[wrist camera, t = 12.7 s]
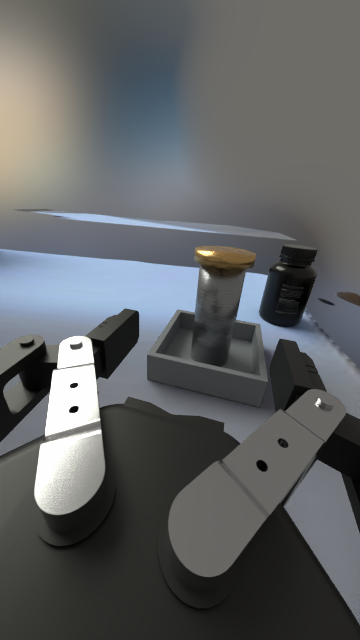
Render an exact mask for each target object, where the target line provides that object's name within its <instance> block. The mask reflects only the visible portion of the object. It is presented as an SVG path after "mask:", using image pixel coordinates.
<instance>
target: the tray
mask: <svg viewBox="0 0 360 640" xmlns="http://www.w3.org/2000/svg"><path fill="white" fill-rule="evenodd" d="M194 317H195V313H194V312H188V311H183V310H177V311H176V313H175V314H174V316H173V317H172V319H171V320H170V322H169V323H168V325H167V326H166V328H165V329H164V331H163V332H162V334H161V335H160V337H159V338H158V340H157V341H156V343H155V344H154V346H153V347H152V349H151V350H150V351H149V353H148V354H147V379H148V380H152V381H156V382H160V383H164V384H168V385H172V386H176V387H180V388H184V389H188V390H192V391H196V392H200V393H204V394H209V395H213V396H217V397H221V398H225V399H229V400H233V401H237V402H241V403H245V404H249V405H253V406H257V407H260V405H261V402H262V399H263V396H264V393H265V390H266V387H267V384H268V377H267V370H266V363H265V356H264V348H263V341H262V334H261V327H260V324H255V323H250V322H244V321H239V320H236V322H235V327H234V331H233V336H232V341H231V346H230V351H229V356H228V361H227V362H226V364H224V365H223V366H220V367H218V366H213V365H209V364H204V363H200V362H195V361H194V360H193V359H192V357H191V345H192V336H193V326H194Z"/></svg>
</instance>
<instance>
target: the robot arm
mask: <svg viewBox="0 0 360 640" xmlns="http://www.w3.org/2000/svg"><path fill="white" fill-rule="evenodd" d="M138 338H139V312H138V311H135V310H130V309H124V310H123V311H122V312H121V313H119V314H118V315H114V316H112V317H109V318H107V319H106V320H105V321H103V323H101V324H100V325H98V326H97V327H96V328H95V329H93V330H92V331H91V332H90V333H88V334H87V335H86V336H85V337H84V336H75V337H71V338H68V339H66V340H64V341H63V342H62V343H61V344H60V345H45V341H44V338H43V337H42V336H39V335H28V336H23V337H20V338H17V339H15V340H14V341H12V342H10V343H9V344H7V345H6V346H4V347H2V348H1V349H0V442H1V441H2V440H3V439H4V438H5V437H6V436H7V435H8V434H9V433H10V432H11V431H12V430H13V429H14V428H15V427H16V426H17V425H18V424H19V423H20V421H21V420H22V419H23V418H24V417H25V416H26V415H27V414H28V413H29V412H30V411H31V410H32V409H33V408H34V407H35V406H36V405H37V404H38V403H39V402H40V401H41V400H42V399H43V398H44V397H45V396H46V395H47V394H48V393H49V392H50V391H51V392H50V400H49V408H48V416H47V425H46V433H45V435H43V436H41V437H39V438H36V439H34V440H32V441H30V442H28V443H26V444H24V445H22V446H20V447H18V448H16V449H14V450H12V451H10V452H8V453H6V454H3V455H1V456H0V640H360V625H359V623H358V622H357V620H356V618H355V616H354V615H353V613H352V611H351V610H350V608H349V607H348V605H347V604H346V602H345V601H344V599H343V597H342V596H341V594H340V593H339V591H338V590H337V588H336V587H335V585H334V584H333V582H332V581H331V579H330V577H329V576H328V574H327V573H326V571H325V570H324V568H323V567H322V565H321V564H320V562H319V560H318V559H317V557H316V556H315V554H314V553H313V551H312V550H311V548H310V547H309V545H308V544H307V542H306V540H305V539H304V537H303V536H302V534H301V533H300V531H299V530H298V528H297V527H296V525H295V524H294V522H293V520H292V519H291V517H290V516H289V514H288V513H287V511H286V510H285V508H284V507H285V505H286V504H287V502H288V501H289V499H290V498H291V496H292V495H293V493H294V492H295V490H296V489H297V487H298V486H299V485H300V483H301V482H302V480H303V479H304V478H305V476H306V475H307V473H308V472H309V471H310V469H311V468H312V466H313V465H314V464H315V462H316V461H317V459H318V460H319V461H321V462H323V463H325V464H327V465H328V466H330V467H332V468H334V469H336V470H337V471H339V472H341V474H342V477H343V481H344V484H345V487H346V490H347V494H348V497H349V500H350V503H351V506H352V510H353V513H354V516H355V519H356V523H357V526H358V529H359V532H360V419H358V418H356V417H354V416H352V415H350V414H348V413H346V409H345V406H344V405H343V404H342V402H341V401H340V400H338V399H337V398H336V397H335V396H333V395H331V394H330V393H328V392H327V391H326V389H325V387H324V384H323V382H322V380H321V378H320V376H319V374H318V371H317V369H316V368H315V365H314V362H313V360H312V359H311V358H310V357H309V356H308V355H307V354H306V353H303V352H300V350H299V348H298V345H297V343H296V342H295V341H290V340H285V339H280V340H279V341H278V344H277V347H276V350H275V353H274V356H273V359H272V361H271V365H270V378H271V384H272V390H273V397H274V403H275V409H276V413H275V414H274V415H272V416H271V417H270V418H269V419H268V420H267V421H266V422H265V423H263V424H262V425H261V426H260V427H259V428H258V429H257V430H256V431H254V432H253V433H252V434H251V435H250V436H249V437H248V438H247V439H245V440H244V441H243V442H242V443H241V444H240V443H239V442H238V441H237V440H236V439H234V438H233V437H232V436H230V435H229V434H227V433H225V432H224V423H223V422H219V421H215V420H212V419H208V418H204V417H201V416H187V415H173V414H170V413H168V412H166V411H164V410H163V409H161V408H159V407H157V406H155V405H153V404H152V403H149V402H146V401H142V400H138V399H135V398H131V397H128V398H127V400H126V401H125V403H124V404H114V405H108V406H104V407H102V408H100V406H99V398H98V389H97V381H96V380H97V379H98V378H99V377H102V378H106V379H108V378H109V377H110V375H111V374H112V373H113V372H114V370H115V369H116V368H117V367H118V366H119V364H120V363H121V362H122V361H123V359H124V358H125V357H126V356H127V354H128V353H129V352H130V351H131V349H132V348H133V347H134V346H135V344H136V343H137V341H138ZM18 373H19V376H20V379H21V381H20V382H19V383H18V384H16V385H15V386H14V387H13V388H12V389H10V390H9V391H8V392H7V393H6V394H3V389H4V386H5V385H6V383H7V382H8V381H10V380H11V379H12V378H13V377H15V376H16V375H17V374H18Z"/></svg>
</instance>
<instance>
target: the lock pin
mask: <svg viewBox="0 0 360 640" xmlns="http://www.w3.org/2000/svg"><path fill="white" fill-rule="evenodd" d="M255 257H256V254H255V253H254V252H251V251H248V250H244V249H239V248H233V247H224V246H200V247H196V249H195V259H194V260H195V261H196V262H198V263H200V270H199V280H198V289H197V298H196V308H195V317H194V326H193V336H192V345H191V357H192V359H193V360H194V361H195V362H200V363H204V364H209V365H213V366H218V367H220V366H223V365H224V364H226V362H227V361H228V356H229V351H230V346H231V341H232V336H233V331H234V327H235V322H236V317H237V312H238V307H239V302H240V297H241V292H242V287H243V282H244V278H245V273H246V269H248V268H252V267H253V266H254V262H255Z"/></svg>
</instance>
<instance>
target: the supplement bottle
mask: <svg viewBox="0 0 360 640" xmlns="http://www.w3.org/2000/svg"><path fill="white" fill-rule="evenodd" d="M316 253H317V249H316V248H312V247H307V246H300V245H283V247H282V250H281V253H280V256H279V257H280V258H281V259H280V261H278V262H276V263H274V264H273V265H272V266H271V267H270V270H269V274H268V278H267V282H266V286H265V289H264V293H263V297H262V301H261V305H260V310H259V314H260V316H261V317H262V318H263V319H264V320H266V321H268V322H270V323H273V324H276V325H280V326H295V325H297V324H299V323H300V321H301V319H302V316H303V313H304V310H305V308H306V305H307V302H308V299H309V296H310V293H311V290H312V288H313V285H314V282H315V279H316V276H317V273H316V270H315V269H314V268H313V267H312V266H311V263H312V262H314V261H315V256H316Z"/></svg>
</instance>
